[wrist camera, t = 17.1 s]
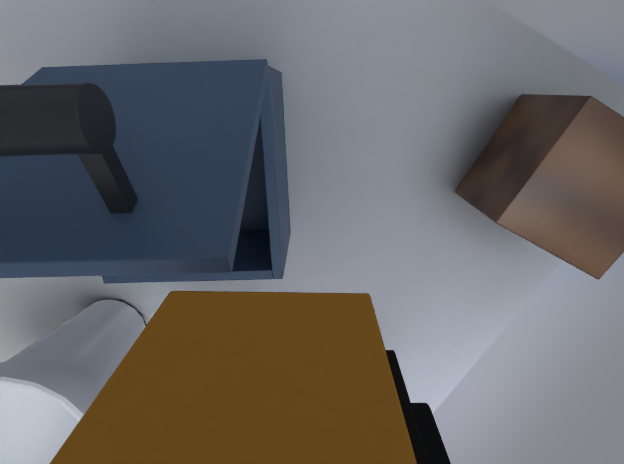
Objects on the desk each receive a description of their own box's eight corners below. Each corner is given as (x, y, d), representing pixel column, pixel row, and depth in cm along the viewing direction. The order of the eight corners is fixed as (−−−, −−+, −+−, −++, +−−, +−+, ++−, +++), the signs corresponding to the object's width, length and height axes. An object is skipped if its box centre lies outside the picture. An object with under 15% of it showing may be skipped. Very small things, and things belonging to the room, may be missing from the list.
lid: (232, 273, 11) (190, 129, 8) (-180, 283, 11) (-394, 148, 8) (268, 71, 21) (257, -29, 18) (48, 79, 21) (-4, -19, 18)
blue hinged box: (290, 233, 34) (282, 279, 26) (153, 237, 34) (103, 283, 26) (281, 72, 29) (268, 65, 21) (122, 77, 30) (49, 73, 21)
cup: (77, 264, 35) (-50, 357, 23) (179, 303, 37) (112, 410, 24) (55, 344, 39) (-65, 463, 26) (151, 378, 40) (78, 506, 28)
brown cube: (521, 93, 30) (591, 95, 22) (608, 148, 31) (701, 167, 24) (454, 192, 33) (495, 222, 25) (536, 238, 34) (599, 280, 27)
